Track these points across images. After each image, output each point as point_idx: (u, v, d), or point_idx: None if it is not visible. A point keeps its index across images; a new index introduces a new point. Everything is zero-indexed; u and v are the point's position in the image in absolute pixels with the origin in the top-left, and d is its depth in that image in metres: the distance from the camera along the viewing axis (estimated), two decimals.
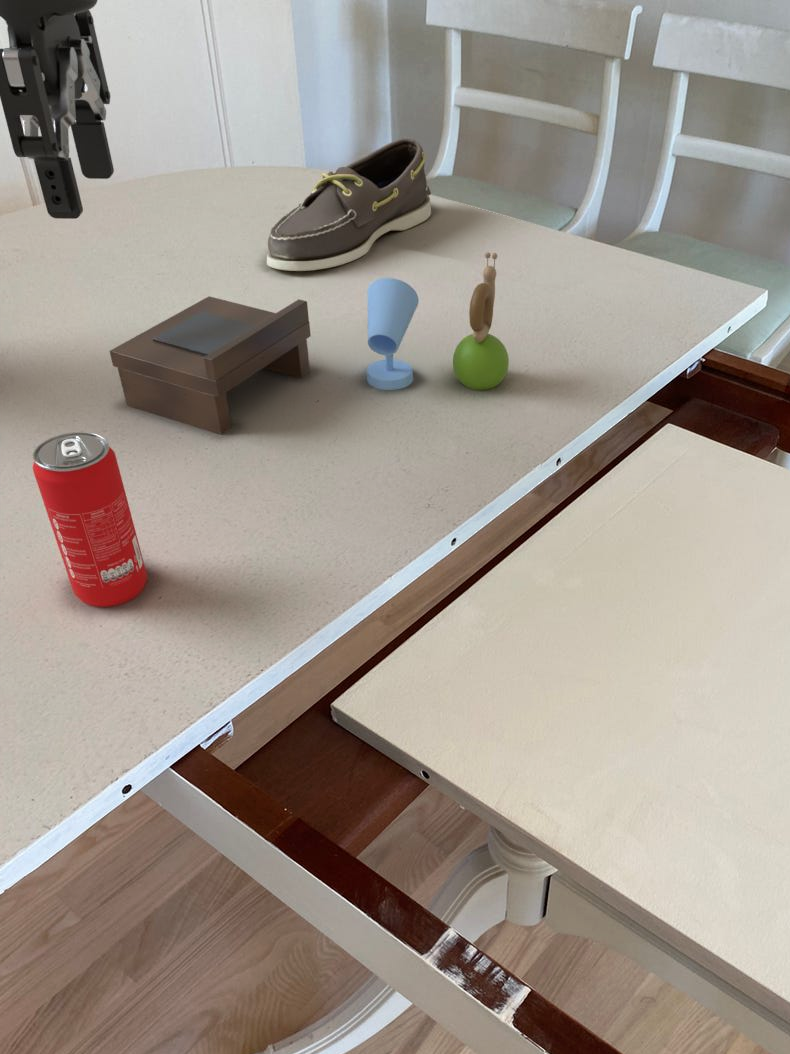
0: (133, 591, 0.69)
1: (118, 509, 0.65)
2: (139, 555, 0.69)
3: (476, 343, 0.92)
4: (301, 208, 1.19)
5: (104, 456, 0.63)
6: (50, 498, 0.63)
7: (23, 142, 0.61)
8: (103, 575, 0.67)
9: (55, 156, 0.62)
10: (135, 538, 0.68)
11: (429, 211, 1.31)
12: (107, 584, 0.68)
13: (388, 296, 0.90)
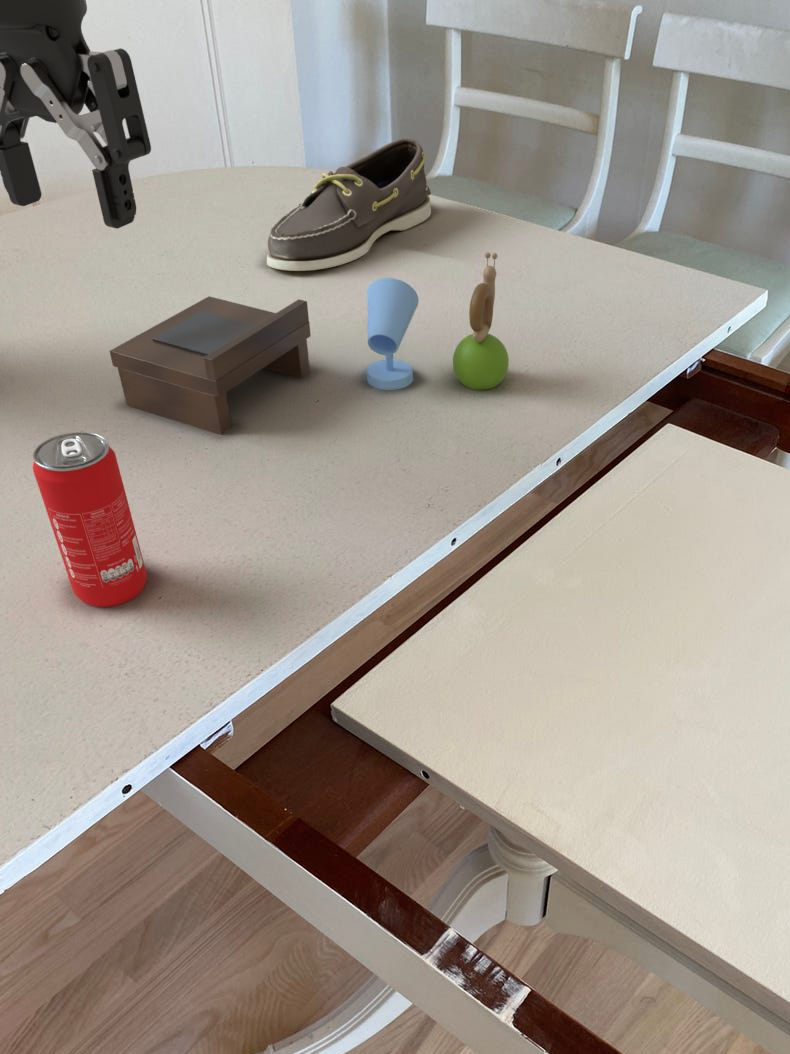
0: (133, 591, 0.69)
1: (118, 509, 0.65)
2: (139, 555, 0.69)
3: (476, 343, 0.92)
4: (301, 208, 1.19)
5: (104, 456, 0.63)
6: (50, 497, 0.63)
7: (128, 146, 0.61)
8: (103, 574, 0.67)
9: (148, 153, 0.63)
10: (135, 538, 0.68)
11: (429, 211, 1.31)
12: (107, 584, 0.68)
13: (388, 296, 0.90)
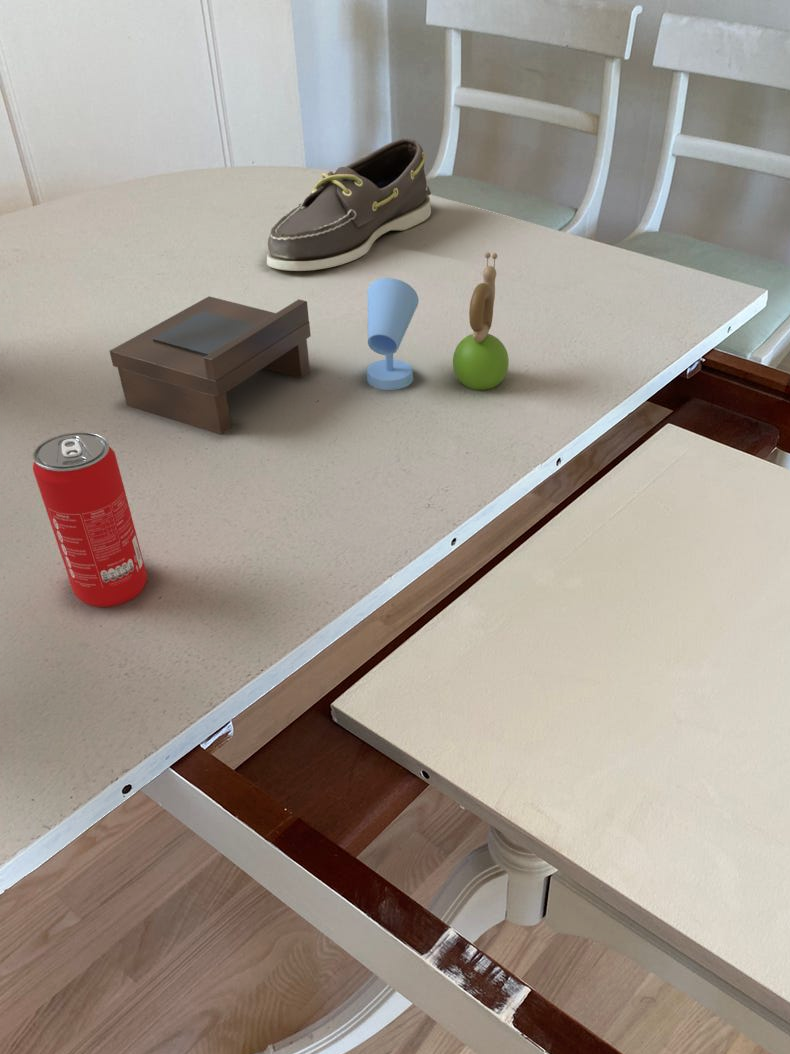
0: (133, 591, 0.69)
1: (118, 509, 0.65)
2: (139, 555, 0.69)
3: (476, 343, 0.92)
4: (301, 208, 1.19)
5: (104, 456, 0.63)
6: (50, 497, 0.63)
7: None
8: (103, 574, 0.67)
9: None
10: (135, 538, 0.68)
11: (429, 211, 1.31)
12: (107, 584, 0.68)
13: (388, 296, 0.90)
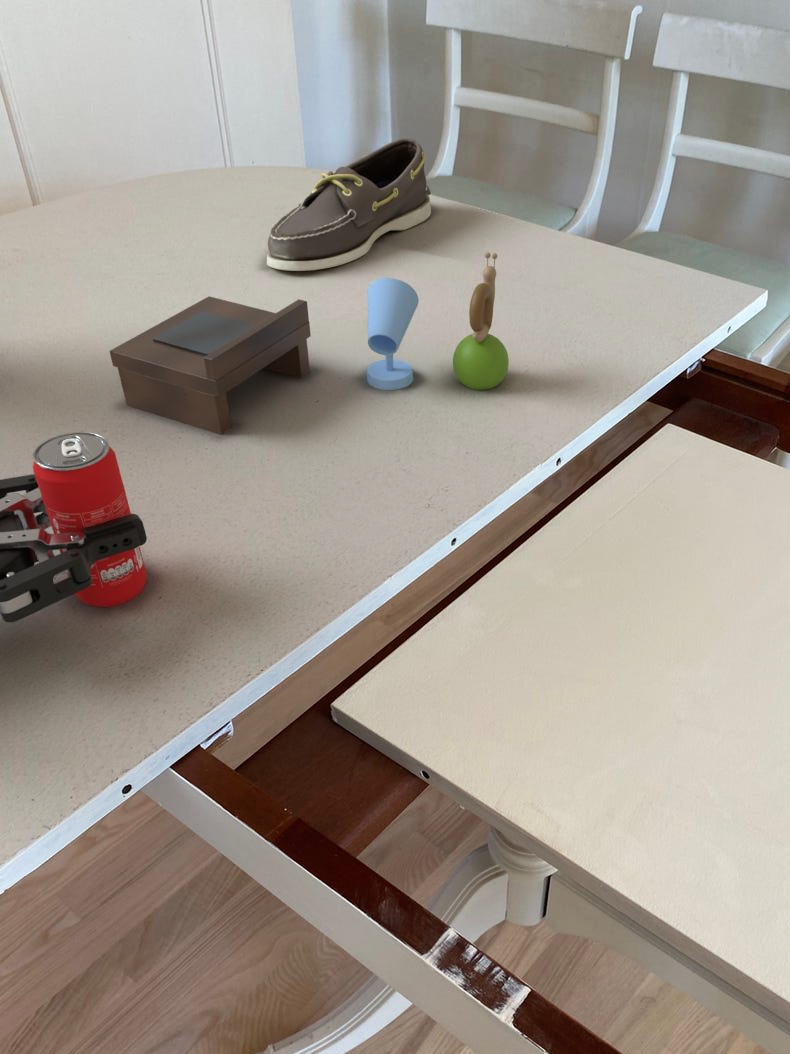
0: (133, 591, 0.69)
1: (118, 509, 0.65)
2: (139, 555, 0.69)
3: (476, 343, 0.92)
4: (301, 208, 1.19)
5: (104, 456, 0.63)
6: (50, 497, 0.63)
7: (76, 580, 0.63)
8: (103, 574, 0.67)
9: (81, 554, 0.62)
10: None
11: (429, 211, 1.31)
12: (106, 584, 0.68)
13: (388, 296, 0.90)
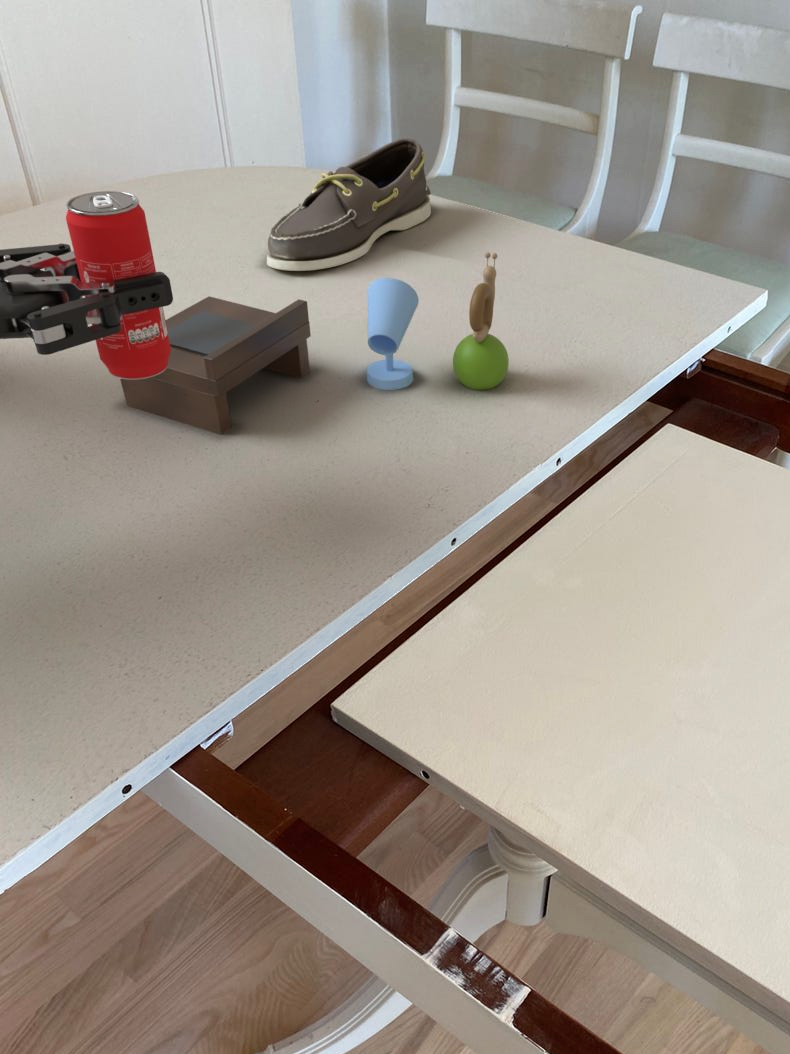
0: (158, 359, 0.72)
1: (146, 266, 0.68)
2: (164, 324, 0.72)
3: (476, 343, 0.92)
4: (301, 208, 1.19)
5: (134, 207, 0.66)
6: (82, 246, 0.66)
7: (106, 324, 0.66)
8: (131, 335, 0.70)
9: (113, 296, 0.65)
10: None
11: (429, 211, 1.31)
12: (133, 346, 0.70)
13: (388, 296, 0.90)
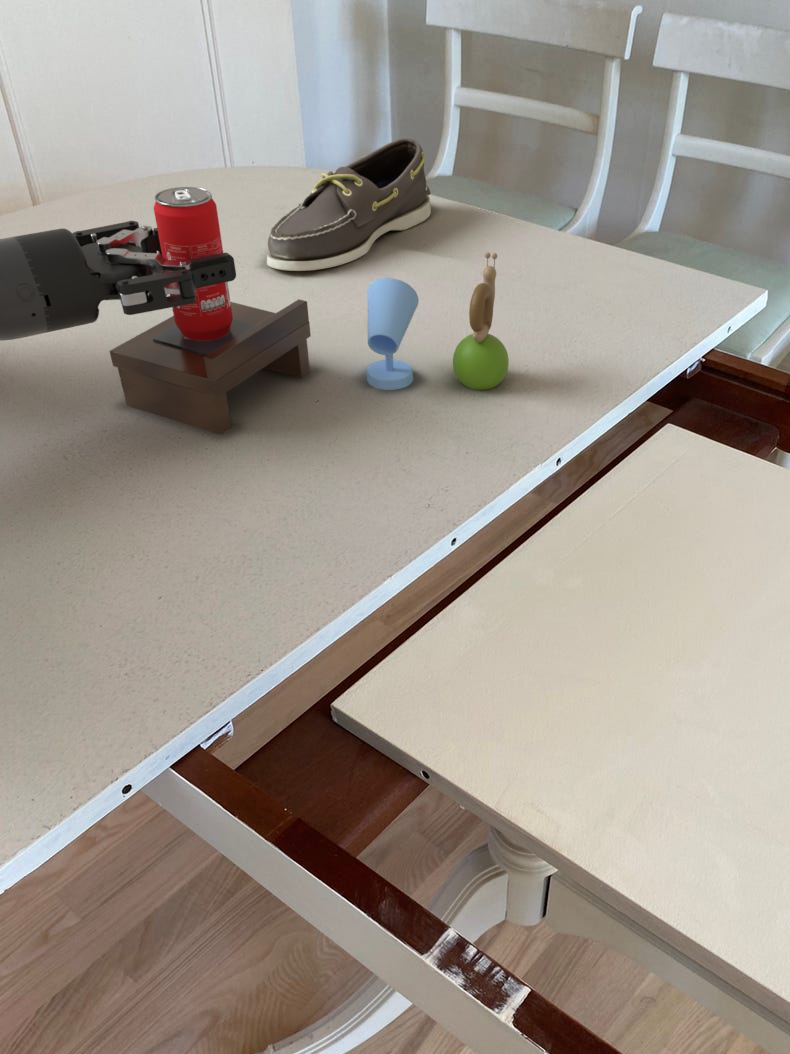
0: (223, 324, 0.88)
1: (216, 247, 0.84)
2: (228, 295, 0.88)
3: (476, 343, 0.92)
4: (300, 208, 1.19)
5: (209, 200, 0.82)
6: (167, 231, 0.82)
7: (185, 295, 0.80)
8: (203, 304, 0.86)
9: (190, 272, 0.79)
10: None
11: (429, 211, 1.31)
12: (204, 314, 0.86)
13: (388, 296, 0.90)
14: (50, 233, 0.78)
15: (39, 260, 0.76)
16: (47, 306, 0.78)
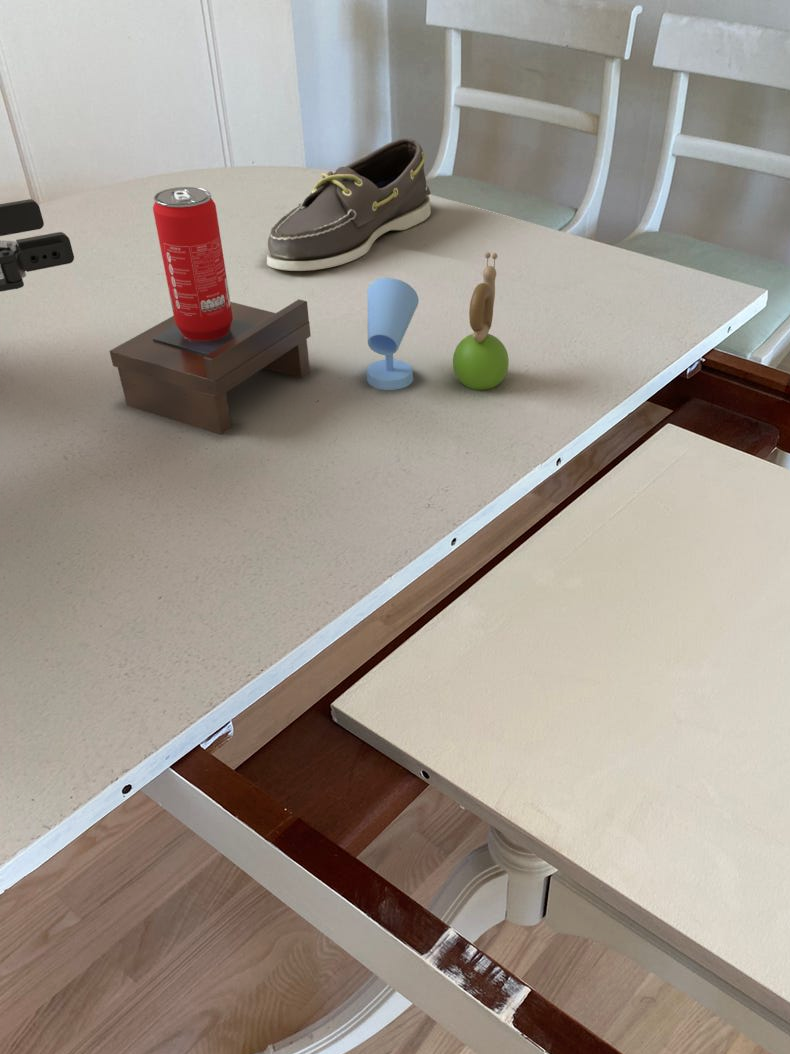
0: (223, 324, 0.88)
1: (216, 247, 0.84)
2: (228, 295, 0.88)
3: (476, 343, 0.92)
4: (300, 208, 1.19)
5: (208, 200, 0.82)
6: (167, 232, 0.82)
7: (9, 279, 0.72)
8: (202, 304, 0.86)
9: (13, 253, 0.71)
10: (226, 279, 0.87)
11: (429, 211, 1.31)
12: (204, 314, 0.86)
13: (388, 296, 0.90)
14: None
15: None
16: None
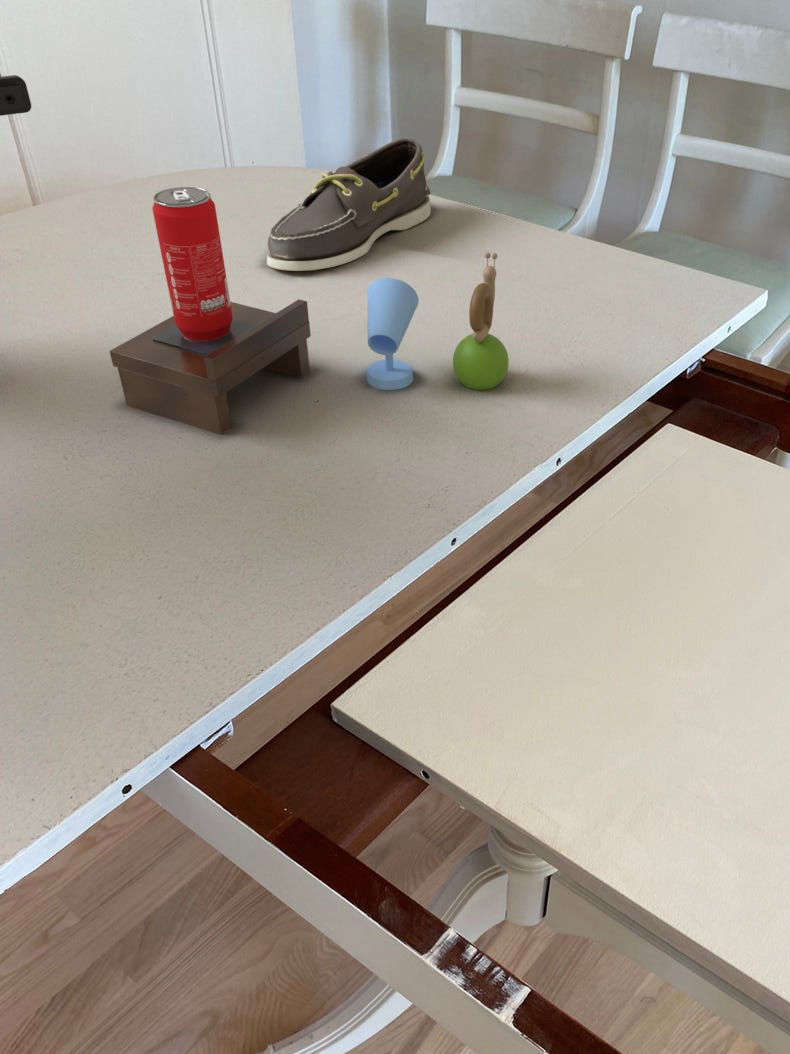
0: (223, 324, 0.88)
1: (215, 247, 0.84)
2: (228, 295, 0.88)
3: (476, 343, 0.92)
4: (300, 208, 1.19)
5: (208, 200, 0.82)
6: (166, 232, 0.82)
7: None
8: (202, 304, 0.86)
9: None
10: (226, 279, 0.87)
11: (429, 211, 1.31)
12: (204, 314, 0.86)
13: (388, 296, 0.90)
14: None
15: None
16: None
